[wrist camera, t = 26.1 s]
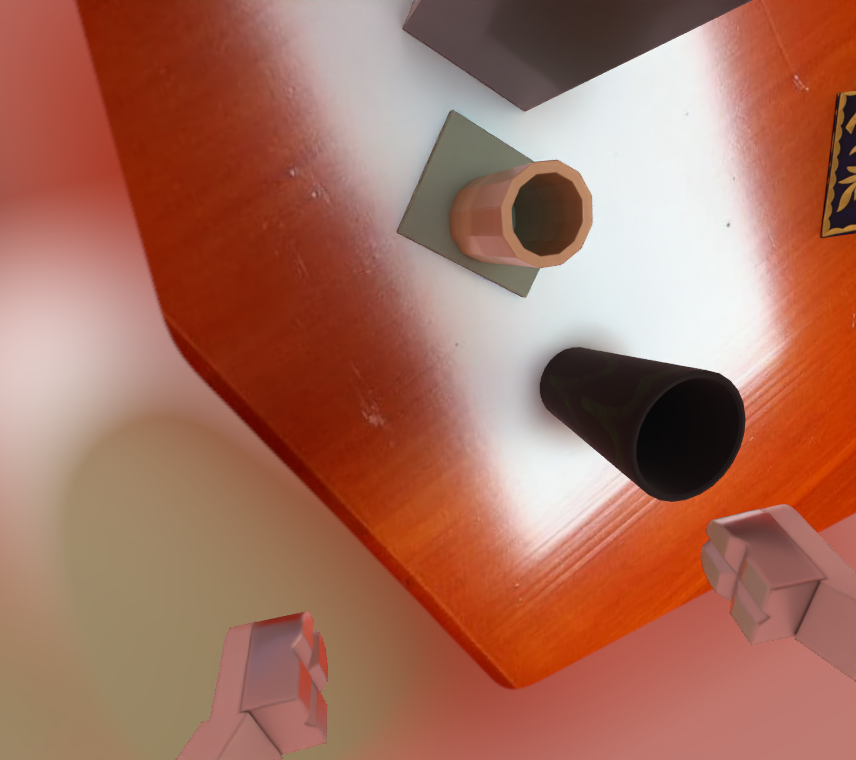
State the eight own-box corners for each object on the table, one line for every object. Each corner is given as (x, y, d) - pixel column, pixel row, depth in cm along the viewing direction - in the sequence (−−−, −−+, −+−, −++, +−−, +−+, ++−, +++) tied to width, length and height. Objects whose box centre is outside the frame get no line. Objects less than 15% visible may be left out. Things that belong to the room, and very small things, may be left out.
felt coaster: (396, 232, 33) (398, 232, 33) (449, 111, 33) (452, 109, 32) (522, 296, 37) (526, 297, 37) (573, 189, 36) (577, 189, 36)
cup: (630, 391, 42) (762, 447, 31) (555, 449, 41) (662, 527, 30) (590, 312, 39) (720, 342, 28) (509, 373, 38) (609, 429, 27)
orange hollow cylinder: (437, 242, 34) (485, 242, 26) (468, 163, 33) (527, 141, 26) (504, 273, 36) (567, 282, 28) (535, 199, 35) (608, 188, 28)
